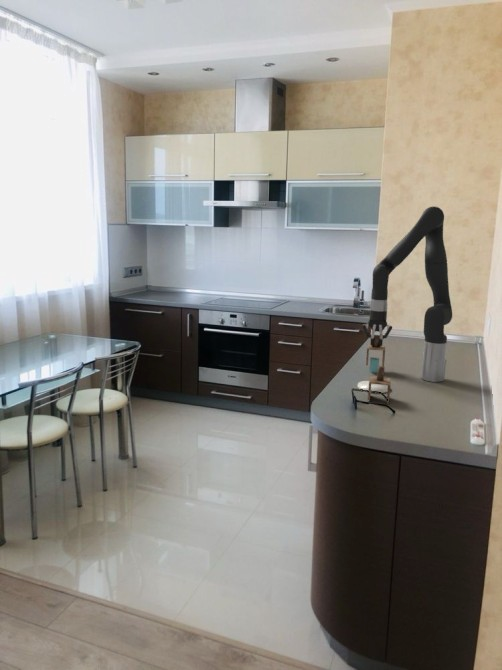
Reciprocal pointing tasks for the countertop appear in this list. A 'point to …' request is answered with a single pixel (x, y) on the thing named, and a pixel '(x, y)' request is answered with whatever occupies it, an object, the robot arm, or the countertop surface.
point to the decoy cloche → (380, 381)
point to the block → (374, 364)
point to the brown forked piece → (376, 348)
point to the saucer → (372, 386)
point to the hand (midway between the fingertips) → (376, 346)
